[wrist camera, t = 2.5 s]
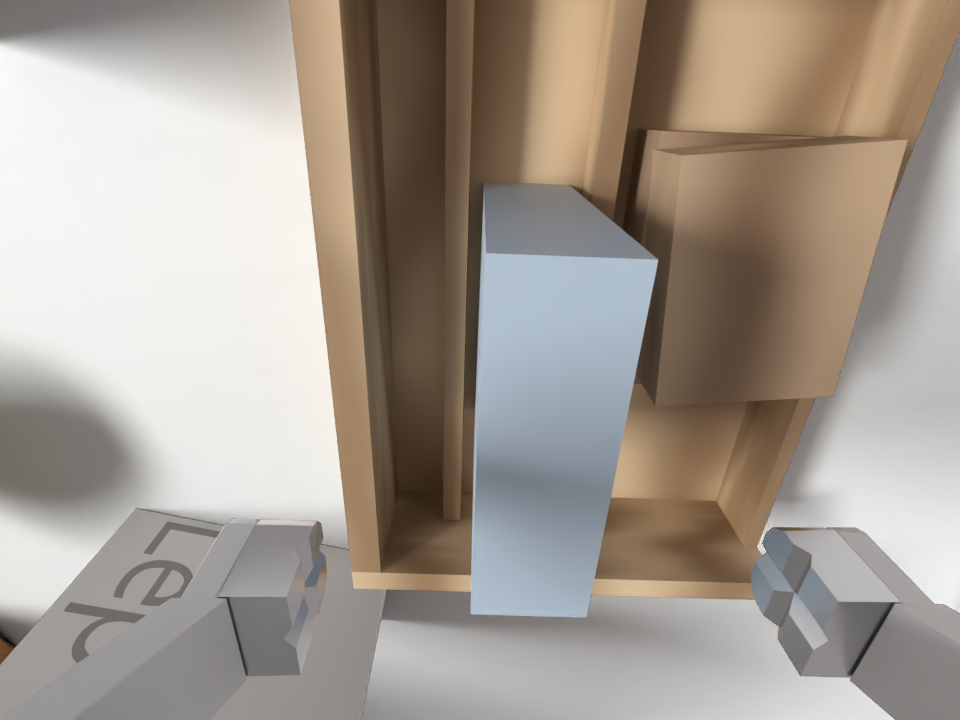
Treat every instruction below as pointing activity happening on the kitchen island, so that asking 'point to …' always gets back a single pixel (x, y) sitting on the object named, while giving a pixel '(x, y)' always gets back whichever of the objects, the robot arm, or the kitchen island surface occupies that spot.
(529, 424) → the board
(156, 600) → the brochure
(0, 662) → the bread loaf
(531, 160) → the caddy
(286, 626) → the robot arm
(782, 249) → the offcut upper
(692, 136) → the offcut lower
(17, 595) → the kitchen island surface
